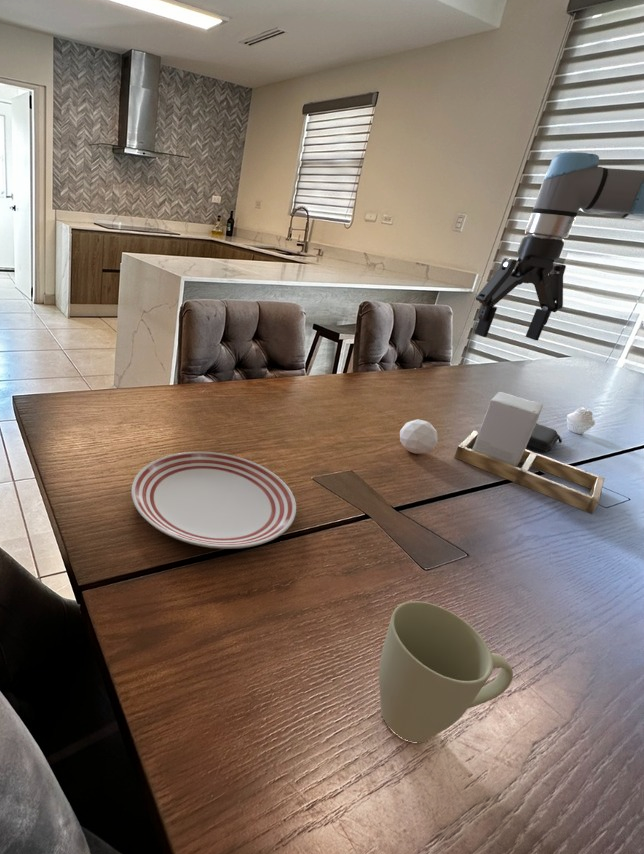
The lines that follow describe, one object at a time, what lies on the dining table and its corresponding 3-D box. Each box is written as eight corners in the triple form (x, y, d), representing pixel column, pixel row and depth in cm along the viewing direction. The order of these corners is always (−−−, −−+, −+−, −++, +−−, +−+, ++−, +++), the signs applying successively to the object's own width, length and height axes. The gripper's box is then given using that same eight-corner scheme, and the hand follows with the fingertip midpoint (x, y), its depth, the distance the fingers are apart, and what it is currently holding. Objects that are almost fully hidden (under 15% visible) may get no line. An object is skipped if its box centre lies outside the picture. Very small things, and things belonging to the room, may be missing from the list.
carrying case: (550, 458, 112) (562, 442, 122) (556, 447, 111) (567, 431, 121) (501, 440, 119) (516, 425, 128) (505, 429, 117) (520, 416, 127)
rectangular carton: (519, 463, 108) (545, 404, 102) (512, 476, 102) (539, 414, 96) (476, 447, 113) (498, 390, 107) (467, 459, 107) (490, 399, 101)
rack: (598, 489, 101) (604, 477, 99) (592, 514, 91) (599, 501, 90) (470, 440, 116) (474, 430, 115) (453, 457, 107) (458, 446, 106)
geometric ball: (419, 464, 108) (448, 450, 101) (391, 450, 106) (418, 435, 100) (418, 437, 112) (445, 422, 106) (391, 423, 111) (416, 407, 105)
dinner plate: (99, 489, 81) (100, 473, 79) (216, 450, 98) (218, 435, 96) (203, 594, 62) (206, 575, 61) (325, 523, 79) (330, 506, 78)
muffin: (559, 429, 130) (570, 406, 127) (564, 424, 134) (575, 401, 131) (586, 438, 126) (598, 415, 123) (591, 433, 130) (602, 410, 127)
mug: (431, 797, 43) (476, 712, 38) (343, 705, 50) (372, 624, 46) (484, 731, 49) (529, 651, 45) (400, 657, 57) (431, 581, 52)
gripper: (576, 241, 102) (538, 335, 111) (479, 229, 97) (446, 328, 105) (610, 245, 96) (566, 345, 104) (508, 233, 90) (470, 338, 99)
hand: (506, 337), depth 105 cm, fingers open, 13 cm apart
